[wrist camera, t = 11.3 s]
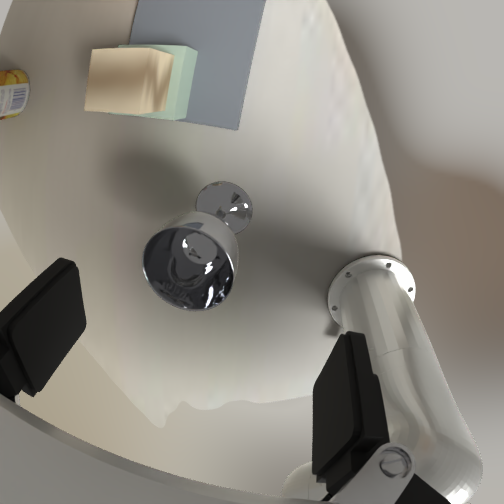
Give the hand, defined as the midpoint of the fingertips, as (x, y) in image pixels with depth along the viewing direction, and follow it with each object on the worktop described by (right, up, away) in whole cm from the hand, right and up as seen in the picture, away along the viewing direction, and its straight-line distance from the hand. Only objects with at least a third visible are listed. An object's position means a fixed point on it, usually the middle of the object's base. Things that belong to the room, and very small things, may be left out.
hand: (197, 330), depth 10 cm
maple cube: (-9, +20, +17) cm, 28 cm away
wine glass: (-2, +8, +29) cm, 30 cm away
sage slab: (-9, +22, +21) cm, 32 cm away
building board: (-5, +25, +20) cm, 33 cm away
